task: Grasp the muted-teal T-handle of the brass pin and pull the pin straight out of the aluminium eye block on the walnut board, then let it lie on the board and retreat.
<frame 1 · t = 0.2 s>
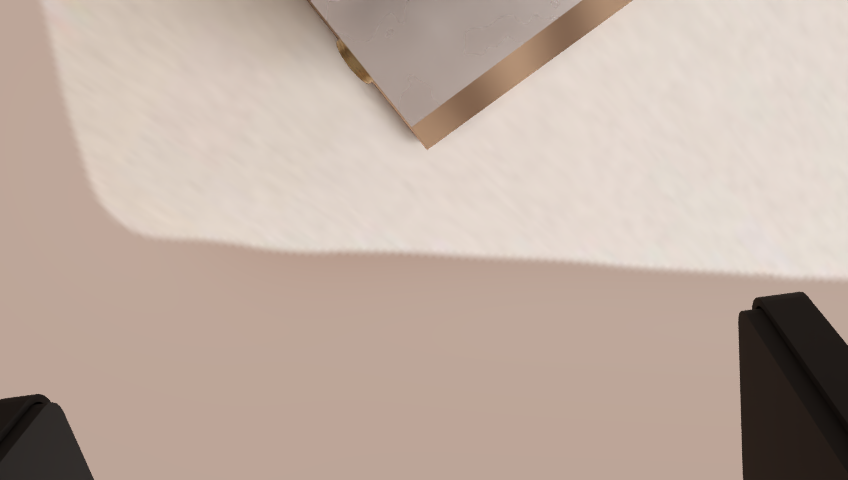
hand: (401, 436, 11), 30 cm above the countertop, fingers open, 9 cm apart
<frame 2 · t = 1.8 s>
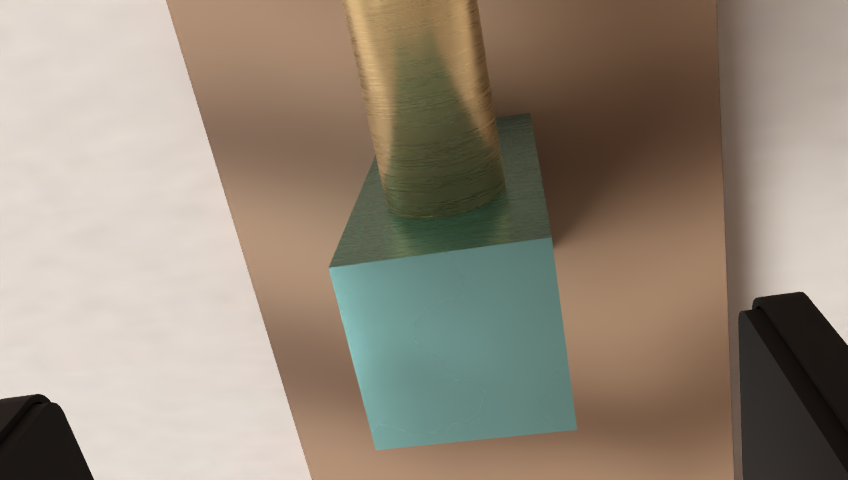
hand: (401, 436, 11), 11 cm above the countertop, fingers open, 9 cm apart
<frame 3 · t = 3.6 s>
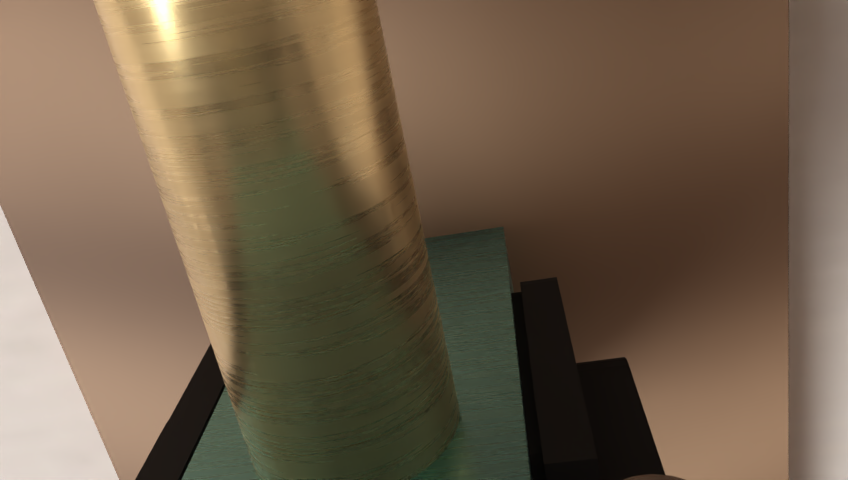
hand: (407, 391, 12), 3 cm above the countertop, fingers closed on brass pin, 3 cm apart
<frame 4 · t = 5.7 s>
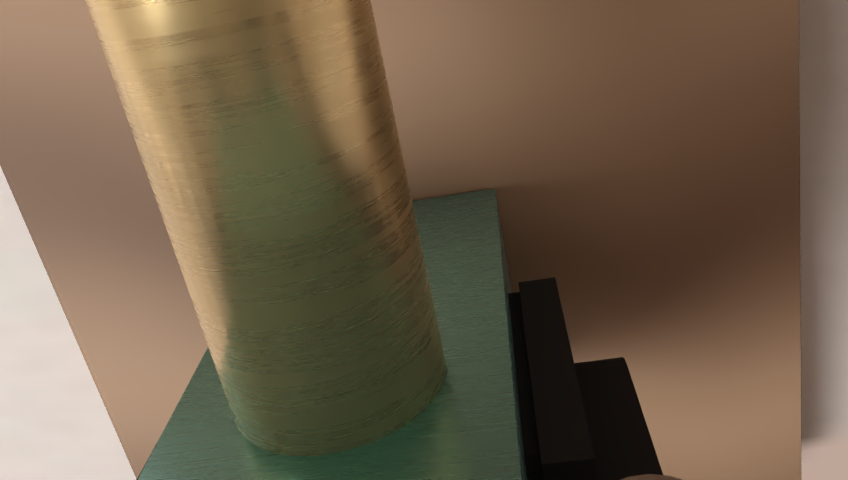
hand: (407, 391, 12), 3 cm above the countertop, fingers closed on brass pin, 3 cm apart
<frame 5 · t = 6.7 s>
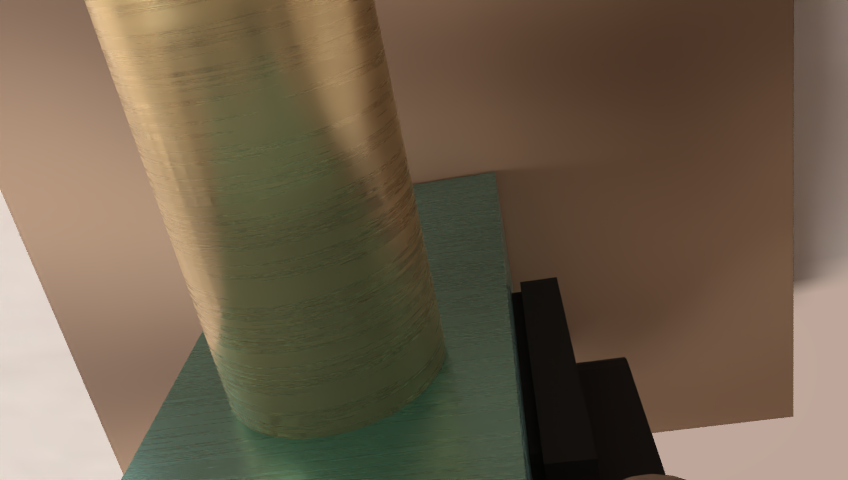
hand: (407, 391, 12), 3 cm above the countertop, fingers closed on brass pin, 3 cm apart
when the fingers open (3 cm above the countertop, at t = 7.7 s): brass pin drops 2 cm, resting on walnut board.
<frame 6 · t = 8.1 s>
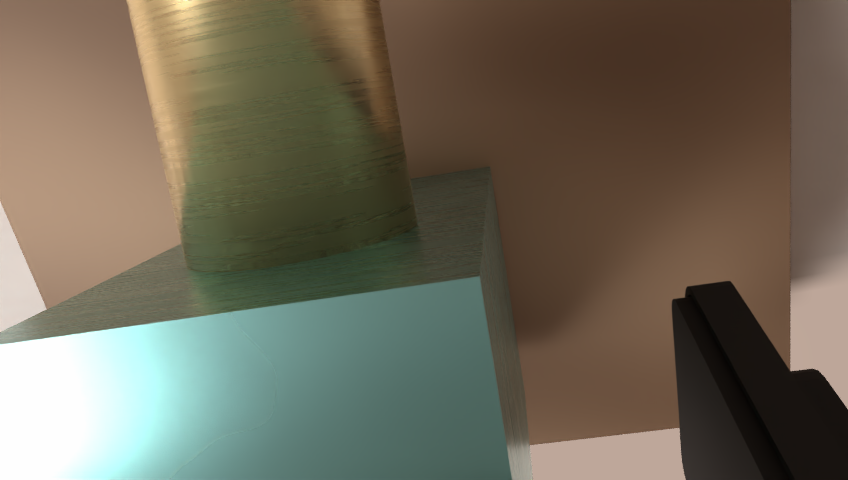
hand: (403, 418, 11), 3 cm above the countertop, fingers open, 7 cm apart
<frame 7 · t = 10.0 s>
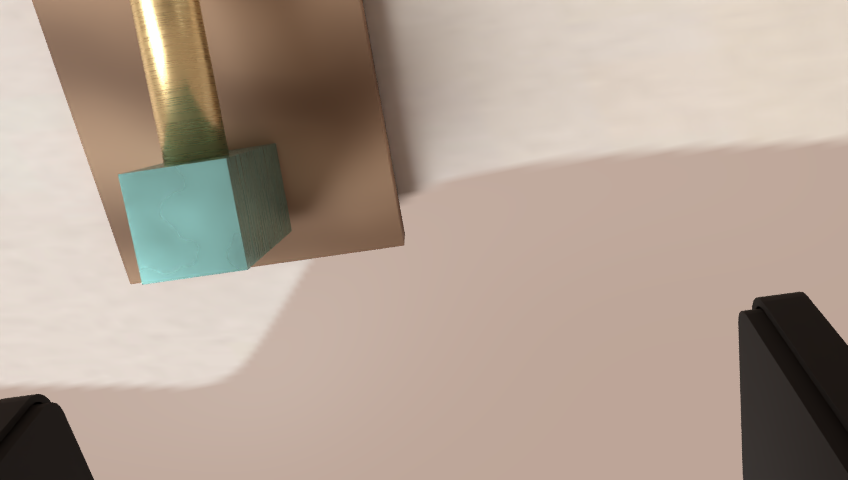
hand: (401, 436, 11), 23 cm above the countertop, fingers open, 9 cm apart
brass pin: (175, 4, 27), resting on walnut board, tilted 14°
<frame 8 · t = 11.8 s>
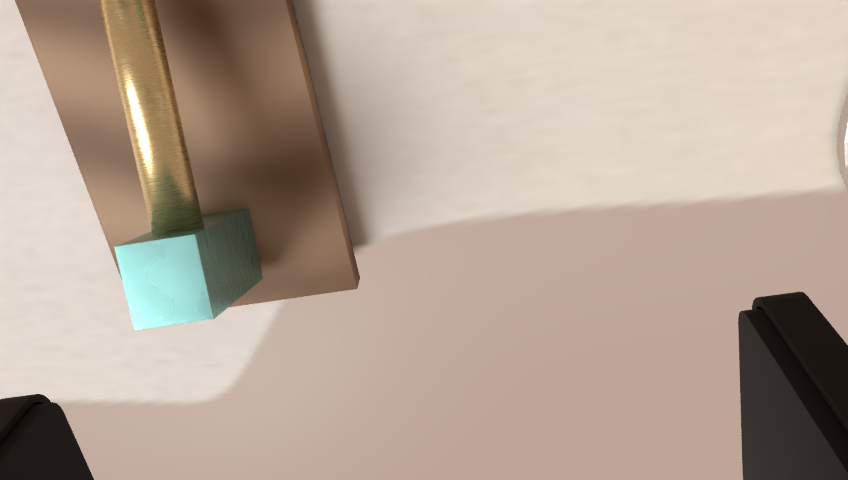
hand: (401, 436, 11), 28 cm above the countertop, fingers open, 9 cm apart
brass pin: (161, 108, 35), resting on walnut board, tilted 14°
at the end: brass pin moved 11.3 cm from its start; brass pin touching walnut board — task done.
